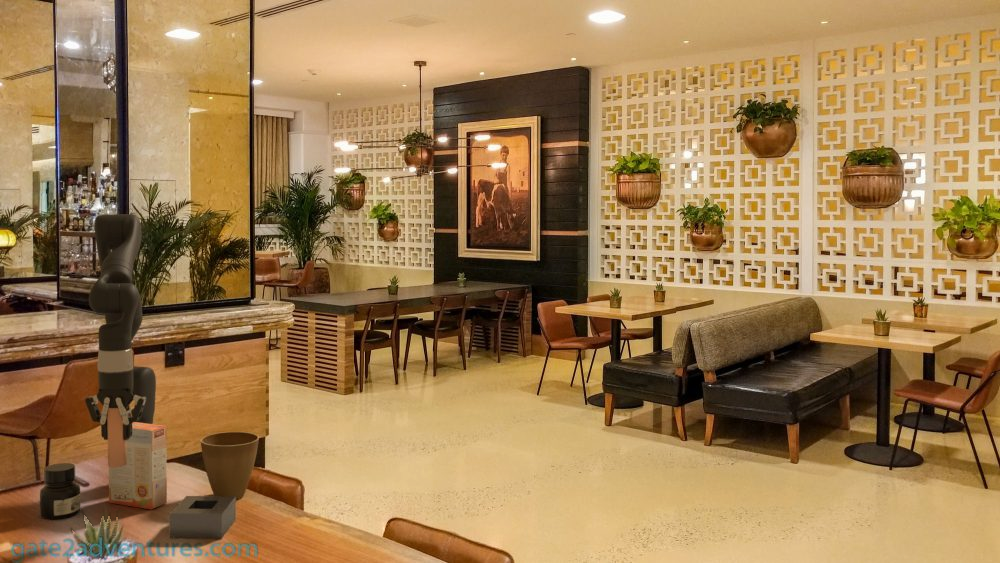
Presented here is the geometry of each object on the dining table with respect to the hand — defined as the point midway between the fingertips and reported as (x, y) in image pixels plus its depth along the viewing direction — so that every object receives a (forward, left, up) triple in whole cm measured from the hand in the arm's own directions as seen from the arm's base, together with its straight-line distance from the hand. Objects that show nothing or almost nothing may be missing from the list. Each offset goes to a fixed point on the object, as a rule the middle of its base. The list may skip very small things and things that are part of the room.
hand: (116, 438), depth 197 cm
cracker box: (-18, -2, -22) cm, 29 cm away
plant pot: (-24, +20, -22) cm, 38 cm away
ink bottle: (-10, -18, -22) cm, 31 cm away
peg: (0, 0, -6) cm, 6 cm away
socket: (-1, +20, -22) cm, 30 cm away
